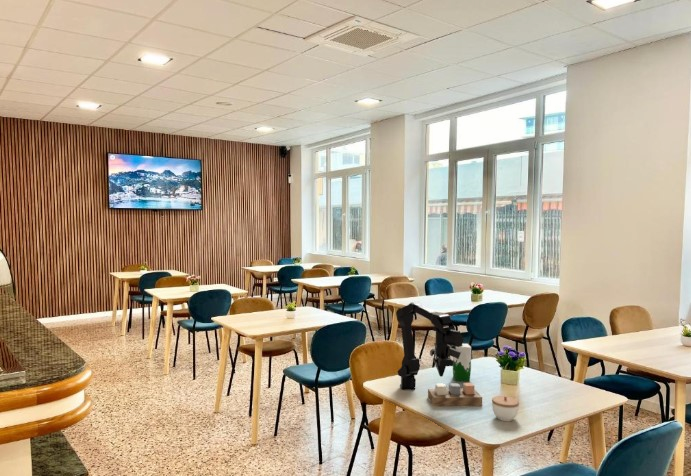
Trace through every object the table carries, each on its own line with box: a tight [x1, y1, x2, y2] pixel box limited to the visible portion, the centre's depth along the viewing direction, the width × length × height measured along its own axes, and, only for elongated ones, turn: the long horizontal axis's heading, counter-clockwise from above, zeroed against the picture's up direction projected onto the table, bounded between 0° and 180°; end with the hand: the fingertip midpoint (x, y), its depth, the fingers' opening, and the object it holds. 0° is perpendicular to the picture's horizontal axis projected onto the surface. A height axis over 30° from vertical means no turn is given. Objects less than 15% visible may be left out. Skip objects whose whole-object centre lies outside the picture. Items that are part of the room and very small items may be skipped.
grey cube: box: [448, 382, 461, 395], centre depth 222 cm, size 4×4×4 cm
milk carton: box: [452, 343, 472, 382], centre depth 253 cm, size 9×9×20 cm
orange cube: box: [462, 382, 475, 395], centre depth 222 cm, size 4×4×4 cm
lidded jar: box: [491, 395, 520, 422], centre depth 204 cm, size 11×11×9 cm
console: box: [427, 388, 483, 408], centre depth 222 cm, size 22×11×4 cm, turn 94°
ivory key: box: [434, 382, 447, 395], centre depth 221 cm, size 4×4×4 cm
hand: (441, 375), depth 221 cm, fingers closed
